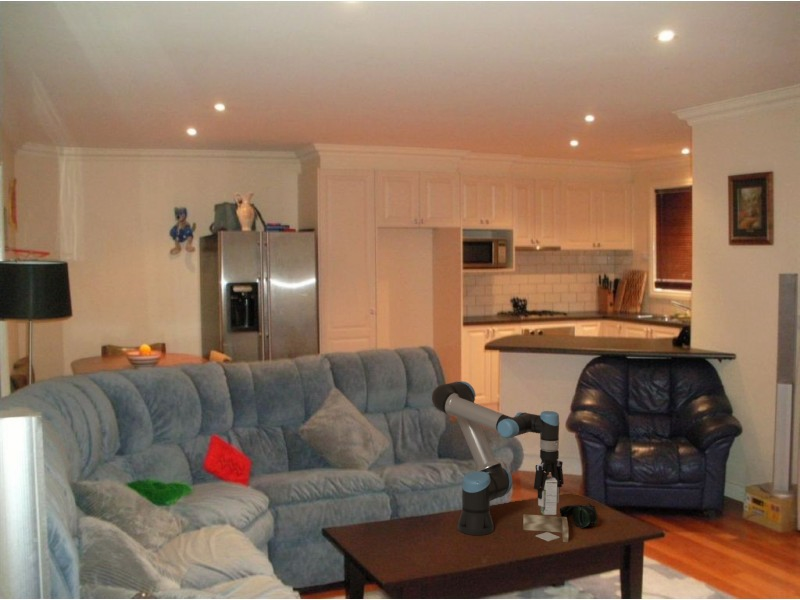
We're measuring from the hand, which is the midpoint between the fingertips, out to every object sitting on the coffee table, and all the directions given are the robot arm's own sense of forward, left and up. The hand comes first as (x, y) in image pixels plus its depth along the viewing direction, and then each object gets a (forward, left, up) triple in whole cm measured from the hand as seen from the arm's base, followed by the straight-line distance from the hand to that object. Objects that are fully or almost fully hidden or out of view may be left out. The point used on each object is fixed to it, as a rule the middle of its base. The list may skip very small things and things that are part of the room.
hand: (548, 503), depth 307 cm
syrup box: (0, 0, -4) cm, 4 cm away
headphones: (+14, +20, -14) cm, 28 cm away
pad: (0, 0, -14) cm, 14 cm away
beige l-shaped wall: (-1, +2, -14) cm, 14 cm away
